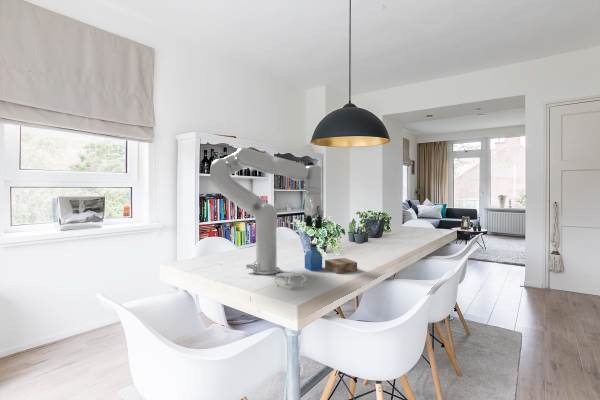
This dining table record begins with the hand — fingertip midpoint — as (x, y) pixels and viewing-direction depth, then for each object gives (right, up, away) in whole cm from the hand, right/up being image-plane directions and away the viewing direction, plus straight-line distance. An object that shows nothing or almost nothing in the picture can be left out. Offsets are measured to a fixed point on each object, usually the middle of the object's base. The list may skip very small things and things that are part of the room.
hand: (313, 227), depth 158 cm
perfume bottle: (0, -20, +1) cm, 20 cm away
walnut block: (+13, -20, -1) cm, 24 cm away
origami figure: (-10, -21, -27) cm, 36 cm away
